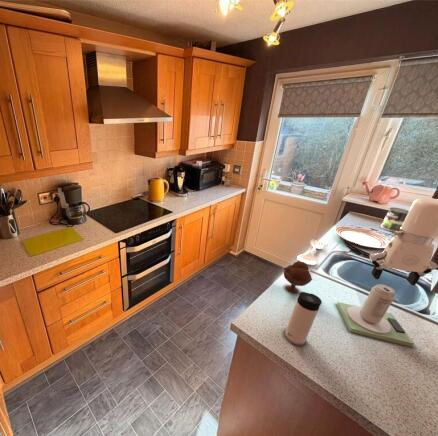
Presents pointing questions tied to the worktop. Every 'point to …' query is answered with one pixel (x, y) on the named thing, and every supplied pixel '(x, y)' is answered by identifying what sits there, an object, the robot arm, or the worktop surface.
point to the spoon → (311, 254)
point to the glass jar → (394, 219)
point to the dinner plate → (361, 237)
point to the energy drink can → (377, 303)
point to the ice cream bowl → (297, 276)
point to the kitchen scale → (374, 325)
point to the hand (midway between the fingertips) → (392, 279)
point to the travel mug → (302, 318)
